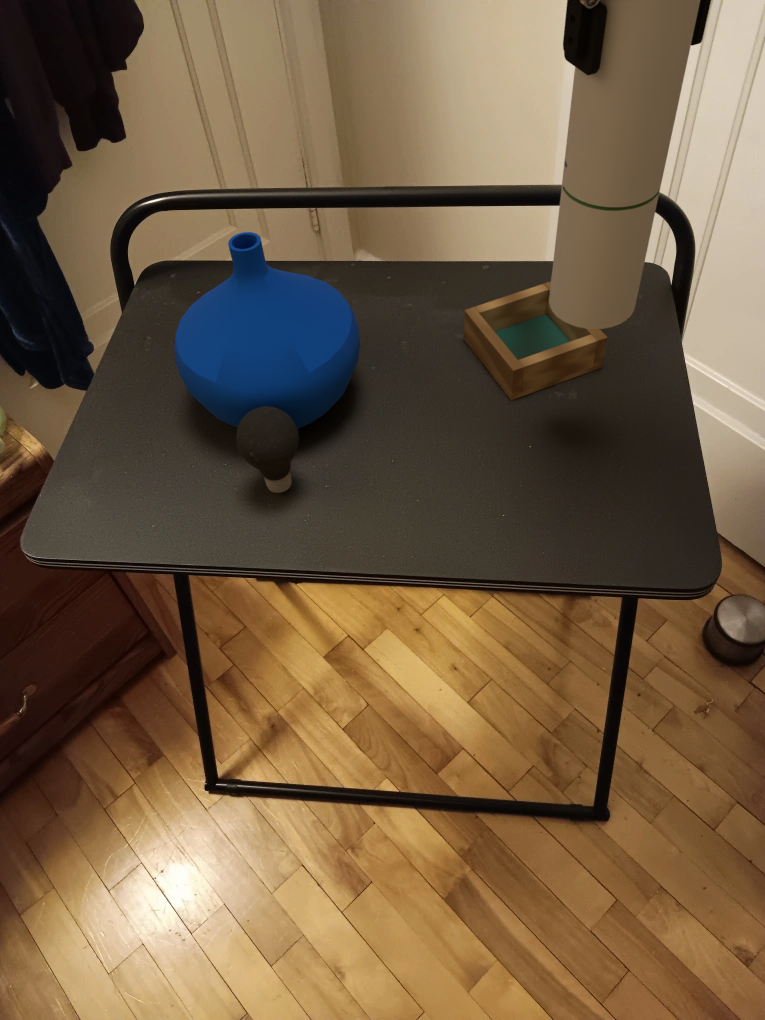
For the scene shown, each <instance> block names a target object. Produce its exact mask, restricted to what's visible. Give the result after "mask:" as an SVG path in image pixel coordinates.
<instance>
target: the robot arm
mask: <svg viewBox="0 0 765 1020" xmlns="http://www.w3.org/2000/svg"><path fill="white" fill-rule="evenodd" d="M599 1H600V0H566V7H565V8H566V10H565V20H564V27H563V39H562V50H563V56H564V59H565V61H566V62H568V63H569V64H571V65H572V66H573V67H574V68H575V67H576V68H578V69H579V70H581V71H582V72H583V73H585V74H586V75H592V74H595V73H597V71H598V70H599V68H600V62H601V54H602V47H603V39H604V32H605V25H606V17H607V8H606V6H605V5H603V4H602V3H600V2H599ZM711 3H712V0H700V4H699V9H698V14H697V18H696V23H695V28H694V32H693V37H692V42H691V47H692V46H697V45H700V44H702V42H703V39H704V34H705V30H706V26H707V21H708V17H709V12H710V7H711V5H712V4H711Z"/></svg>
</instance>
